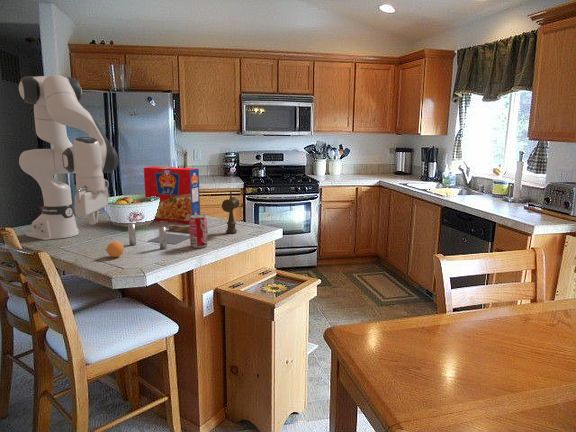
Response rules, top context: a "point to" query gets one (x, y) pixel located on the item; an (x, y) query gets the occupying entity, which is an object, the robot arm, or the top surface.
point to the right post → (162, 237)
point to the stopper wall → (179, 228)
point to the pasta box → (173, 192)
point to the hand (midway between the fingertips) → (93, 223)
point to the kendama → (230, 212)
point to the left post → (132, 234)
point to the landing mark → (171, 238)
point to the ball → (115, 249)
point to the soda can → (198, 231)
